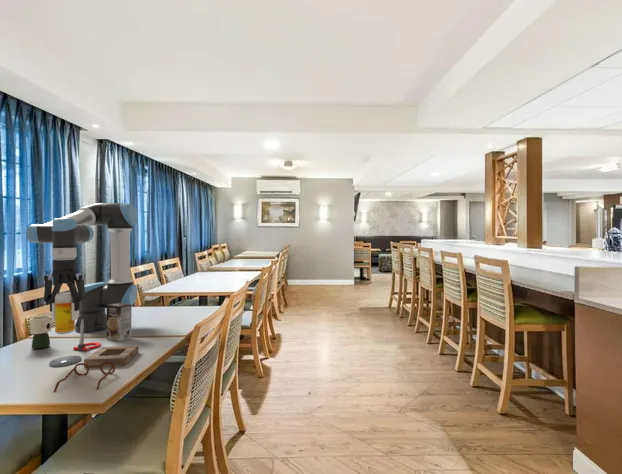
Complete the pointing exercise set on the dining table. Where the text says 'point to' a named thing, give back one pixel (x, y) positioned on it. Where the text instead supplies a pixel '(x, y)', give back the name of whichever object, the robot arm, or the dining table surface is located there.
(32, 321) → the character mug
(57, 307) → the beer can
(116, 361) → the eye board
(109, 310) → the coffee box
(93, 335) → the dining table surface
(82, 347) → the tow hook
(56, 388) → the glasses
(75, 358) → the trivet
